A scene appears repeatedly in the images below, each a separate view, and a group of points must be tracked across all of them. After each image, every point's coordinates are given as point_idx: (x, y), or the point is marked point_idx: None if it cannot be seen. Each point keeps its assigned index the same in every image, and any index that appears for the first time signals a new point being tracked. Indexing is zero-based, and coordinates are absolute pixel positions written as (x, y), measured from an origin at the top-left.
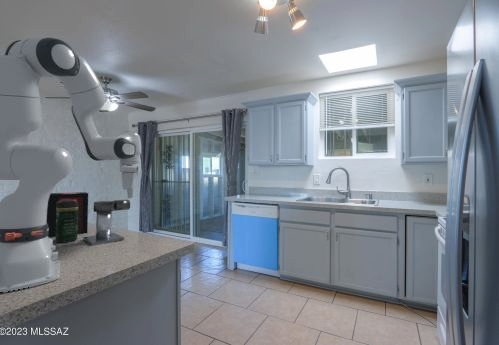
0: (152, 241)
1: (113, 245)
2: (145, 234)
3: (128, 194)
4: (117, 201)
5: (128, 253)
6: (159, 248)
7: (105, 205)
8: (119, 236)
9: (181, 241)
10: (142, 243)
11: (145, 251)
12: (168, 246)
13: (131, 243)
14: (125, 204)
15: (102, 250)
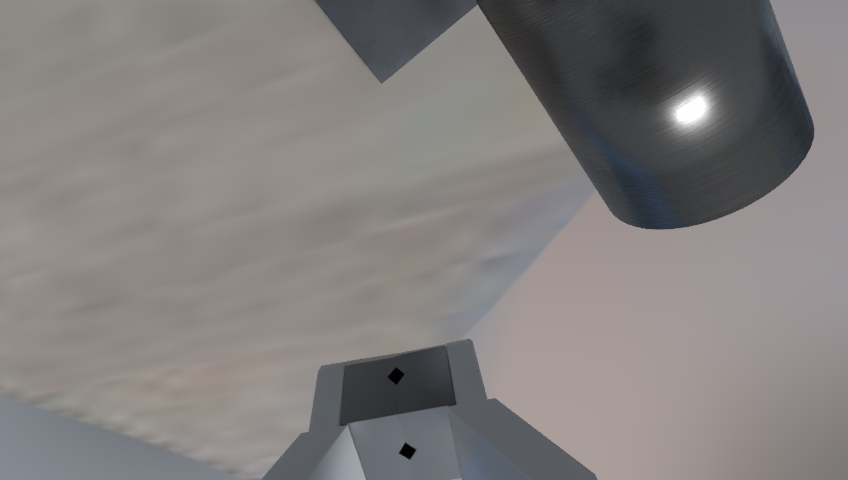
0: (336, 293)
1: (206, 45)
2: (564, 195)
3: (303, 449)
4: (574, 14)
5: (16, 228)
6: (166, 366)
7: None
8: (427, 23)
9: None
10: (280, 245)
11: (86, 312)
12: (217, 399)
13: (277, 170)
14: (581, 156)
15: (41, 6)
